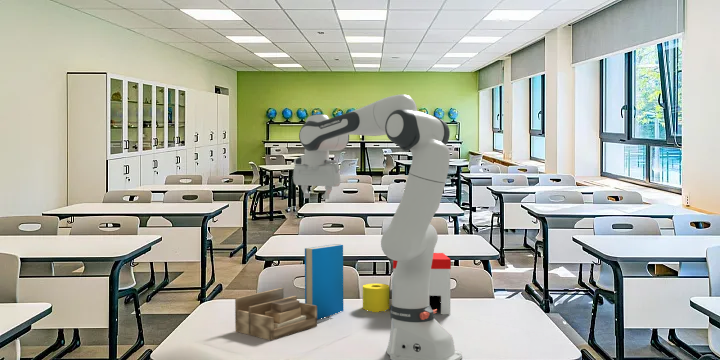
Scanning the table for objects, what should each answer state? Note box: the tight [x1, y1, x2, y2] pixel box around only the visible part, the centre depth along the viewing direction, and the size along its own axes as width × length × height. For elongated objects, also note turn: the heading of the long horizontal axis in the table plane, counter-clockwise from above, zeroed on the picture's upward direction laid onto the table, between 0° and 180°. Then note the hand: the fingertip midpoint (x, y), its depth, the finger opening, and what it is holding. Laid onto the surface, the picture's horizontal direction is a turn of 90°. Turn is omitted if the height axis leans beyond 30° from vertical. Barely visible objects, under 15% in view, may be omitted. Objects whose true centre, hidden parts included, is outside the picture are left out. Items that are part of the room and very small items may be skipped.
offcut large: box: [274, 315, 306, 329], centre depth 195 cm, size 7×14×3 cm, turn 145°
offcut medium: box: [265, 307, 301, 324], centre depth 194 cm, size 6×11×3 cm, turn 149°
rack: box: [234, 287, 318, 341], centre depth 197 cm, size 17×21×11 cm
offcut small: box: [271, 299, 300, 313], centre depth 195 cm, size 5×8×2 cm, turn 139°
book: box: [304, 243, 344, 319], centre depth 213 cm, size 17×4×25 cm, turn 142°
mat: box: [317, 318, 333, 325], centre depth 213 cm, size 10×20×1 cm, turn 142°
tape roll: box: [362, 283, 391, 313], centre depth 221 cm, size 10×10×9 cm
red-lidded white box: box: [392, 252, 452, 315], centre depth 230 cm, size 21×35×21 cm, turn 177°
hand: (316, 198), depth 213 cm, fingers open, 8 cm apart
